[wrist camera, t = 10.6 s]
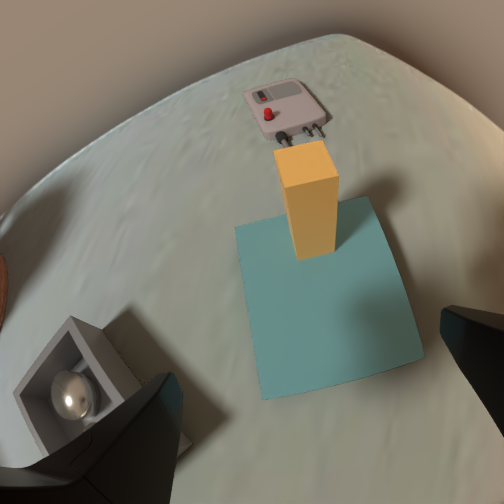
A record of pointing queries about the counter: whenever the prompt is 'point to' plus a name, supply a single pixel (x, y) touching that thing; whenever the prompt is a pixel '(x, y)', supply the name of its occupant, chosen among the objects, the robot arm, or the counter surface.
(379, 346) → the lid
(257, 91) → the electrical control box
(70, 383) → the silver metal dome
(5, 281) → the mug
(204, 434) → the counter surface
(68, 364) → the tub
